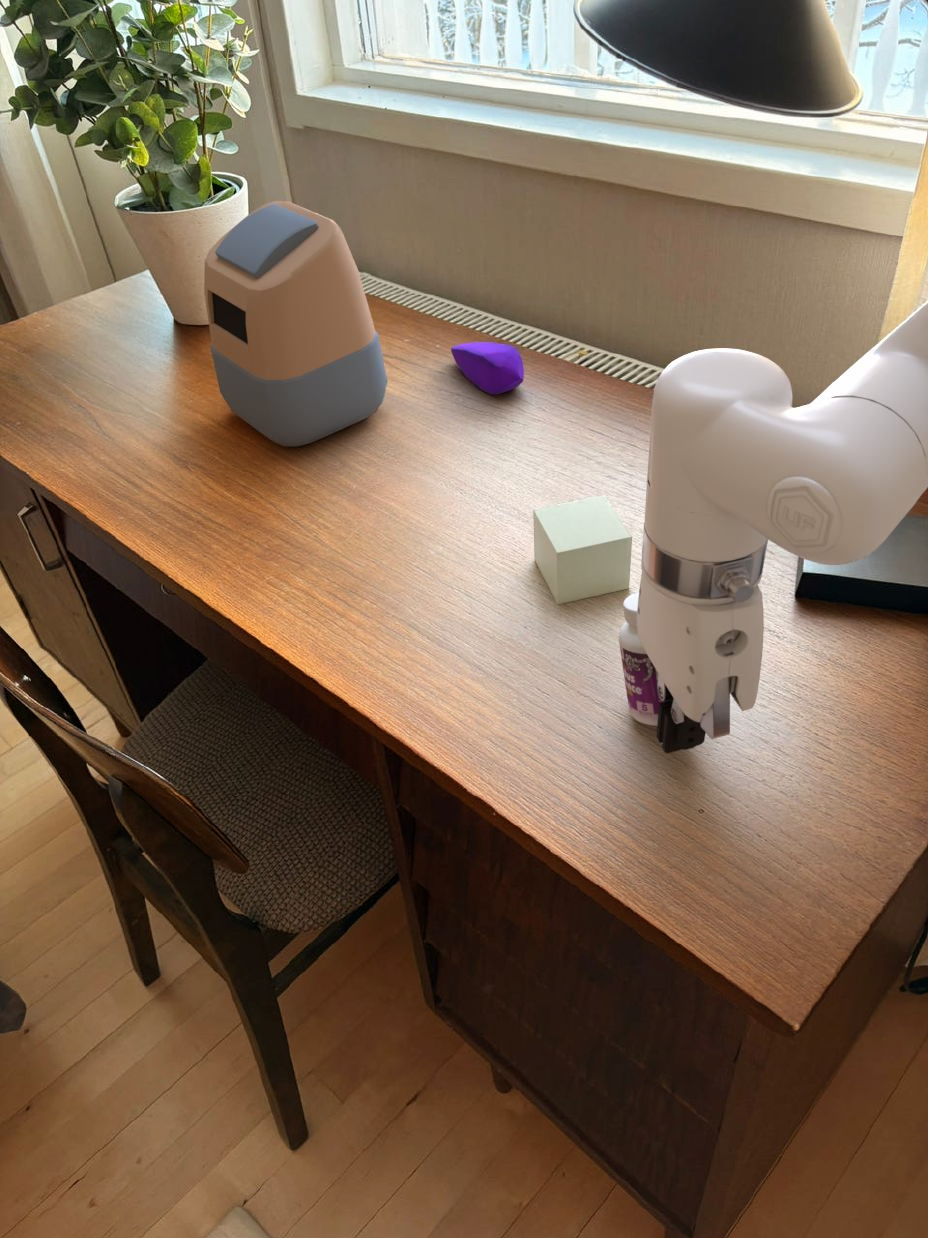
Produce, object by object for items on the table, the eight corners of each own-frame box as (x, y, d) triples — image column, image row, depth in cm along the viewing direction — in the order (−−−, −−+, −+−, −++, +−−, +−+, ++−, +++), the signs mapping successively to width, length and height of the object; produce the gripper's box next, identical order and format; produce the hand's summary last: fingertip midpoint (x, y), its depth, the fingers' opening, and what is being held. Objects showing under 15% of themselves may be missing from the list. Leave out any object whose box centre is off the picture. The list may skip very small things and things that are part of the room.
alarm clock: (216, 414, 117) (164, 224, 102) (329, 368, 125) (295, 184, 109) (285, 466, 107) (237, 263, 92) (403, 412, 114) (377, 216, 99)
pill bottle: (616, 709, 76) (599, 600, 72) (671, 687, 78) (658, 579, 74) (654, 736, 71) (638, 621, 68) (711, 711, 73) (699, 598, 69)
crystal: (464, 325, 123) (536, 352, 112) (469, 361, 125) (539, 391, 115) (434, 336, 121) (503, 365, 110) (439, 372, 124) (508, 404, 113)
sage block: (629, 588, 87) (632, 536, 83) (557, 604, 86) (557, 552, 82) (602, 545, 92) (604, 494, 88) (534, 559, 91) (532, 509, 87)
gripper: (821, 610, 54) (774, 805, 66) (705, 475, 65) (683, 664, 77) (700, 639, 53) (675, 833, 65) (603, 498, 64) (597, 686, 76)
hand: (679, 741), depth 71 cm, fingers closed
